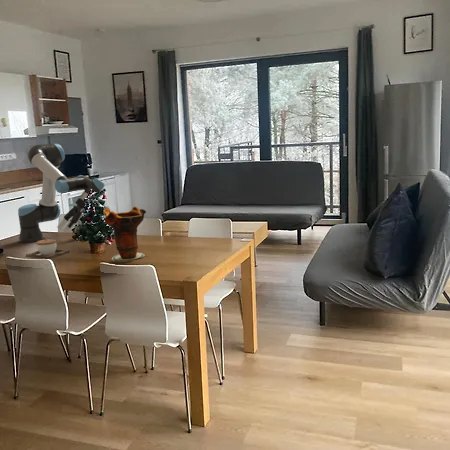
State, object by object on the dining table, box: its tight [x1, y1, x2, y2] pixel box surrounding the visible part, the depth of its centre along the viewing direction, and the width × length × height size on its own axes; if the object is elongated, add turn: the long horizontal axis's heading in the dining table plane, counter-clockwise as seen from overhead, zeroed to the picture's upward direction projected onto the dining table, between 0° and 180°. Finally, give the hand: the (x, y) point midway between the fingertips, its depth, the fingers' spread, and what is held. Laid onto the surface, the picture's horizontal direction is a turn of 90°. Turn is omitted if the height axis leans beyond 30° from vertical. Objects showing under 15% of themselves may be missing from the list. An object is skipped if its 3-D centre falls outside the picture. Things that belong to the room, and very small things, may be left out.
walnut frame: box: [25, 248, 70, 260], centre depth 285 cm, size 16×18×1 cm
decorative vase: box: [103, 206, 147, 262], centre depth 266 cm, size 21×23×28 cm
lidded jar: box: [36, 237, 57, 256], centre depth 284 cm, size 11×11×9 cm
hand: (61, 230), depth 287 cm, fingers open, 13 cm apart
